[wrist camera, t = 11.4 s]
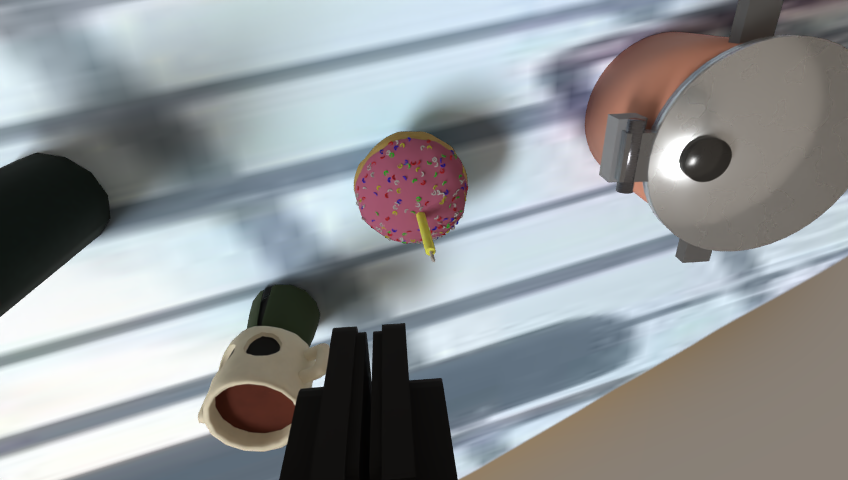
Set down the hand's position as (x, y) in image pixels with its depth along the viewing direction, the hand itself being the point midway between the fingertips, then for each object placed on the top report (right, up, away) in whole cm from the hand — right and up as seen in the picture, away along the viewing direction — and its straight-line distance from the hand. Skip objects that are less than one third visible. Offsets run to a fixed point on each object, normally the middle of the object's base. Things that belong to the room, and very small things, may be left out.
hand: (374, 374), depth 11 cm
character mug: (-12, -3, +34) cm, 36 cm away
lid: (+20, +9, +18) cm, 28 cm away
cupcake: (0, +9, +28) cm, 30 cm away
